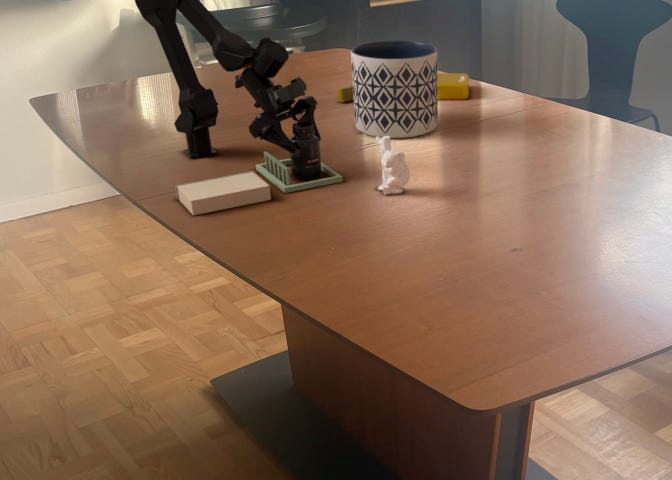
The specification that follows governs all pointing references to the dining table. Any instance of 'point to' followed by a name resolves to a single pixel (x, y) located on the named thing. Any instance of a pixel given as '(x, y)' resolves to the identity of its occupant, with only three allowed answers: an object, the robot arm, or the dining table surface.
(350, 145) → the dining table surface
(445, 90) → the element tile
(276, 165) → the dish rack
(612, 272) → the dining table surface
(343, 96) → the medication box
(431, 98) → the planter
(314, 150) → the supplement bottle
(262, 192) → the cream bevelled block
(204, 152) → the robot arm
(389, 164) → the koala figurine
